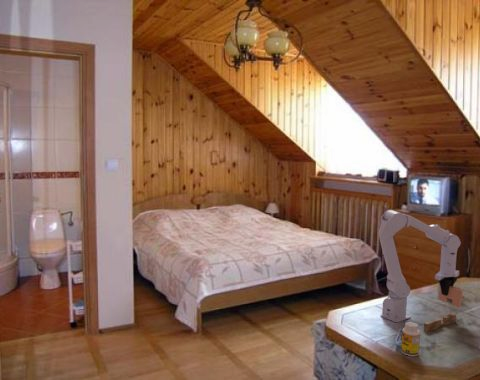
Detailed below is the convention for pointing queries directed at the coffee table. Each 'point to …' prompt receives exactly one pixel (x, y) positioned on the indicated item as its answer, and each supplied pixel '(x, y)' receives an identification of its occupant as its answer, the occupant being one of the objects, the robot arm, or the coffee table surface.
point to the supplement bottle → (410, 339)
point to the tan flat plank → (452, 296)
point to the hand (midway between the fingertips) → (445, 294)
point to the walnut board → (439, 322)
